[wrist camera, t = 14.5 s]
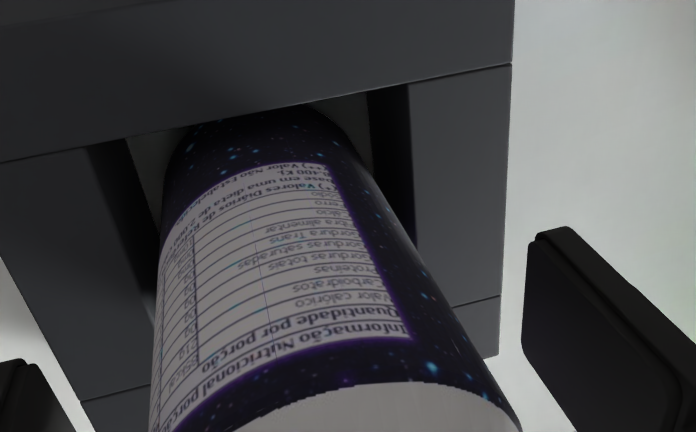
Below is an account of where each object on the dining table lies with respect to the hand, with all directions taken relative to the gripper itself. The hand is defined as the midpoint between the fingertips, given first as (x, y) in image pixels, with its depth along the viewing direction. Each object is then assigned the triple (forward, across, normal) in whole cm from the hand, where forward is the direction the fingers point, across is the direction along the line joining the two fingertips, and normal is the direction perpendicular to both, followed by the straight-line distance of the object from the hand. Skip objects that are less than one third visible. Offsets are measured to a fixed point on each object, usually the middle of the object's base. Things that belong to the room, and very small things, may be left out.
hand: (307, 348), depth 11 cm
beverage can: (+8, 0, 0) cm, 8 cm away
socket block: (+8, 0, 0) cm, 8 cm away
